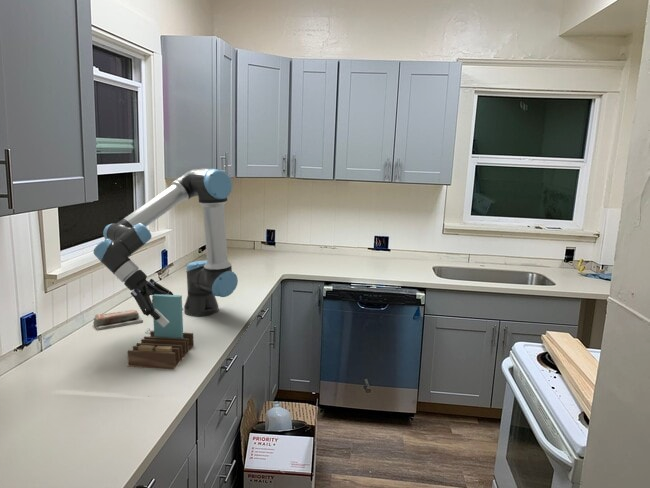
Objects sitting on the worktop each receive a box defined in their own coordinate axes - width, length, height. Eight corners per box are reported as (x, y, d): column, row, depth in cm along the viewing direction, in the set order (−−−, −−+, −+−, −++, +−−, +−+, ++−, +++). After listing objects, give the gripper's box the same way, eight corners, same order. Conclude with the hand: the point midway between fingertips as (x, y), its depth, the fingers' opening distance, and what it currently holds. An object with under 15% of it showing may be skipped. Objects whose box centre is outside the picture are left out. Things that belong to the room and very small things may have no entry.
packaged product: (96, 320, 190) (92, 313, 198) (97, 331, 191) (93, 324, 199) (143, 312, 200) (137, 306, 208) (143, 323, 201) (138, 316, 209)
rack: (151, 346, 177) (151, 331, 176) (193, 348, 176) (193, 333, 174) (126, 369, 158) (125, 352, 157) (173, 372, 157) (172, 355, 156)
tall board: (157, 346, 174) (154, 294, 171) (183, 347, 174) (181, 295, 170) (154, 348, 172) (152, 295, 169) (181, 349, 172) (179, 296, 168)
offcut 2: (158, 362, 161) (157, 345, 160) (172, 363, 161) (172, 346, 160) (155, 364, 159) (155, 348, 158) (170, 365, 159) (169, 348, 158)
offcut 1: (141, 361, 162) (140, 344, 161) (155, 362, 162) (154, 345, 160) (138, 363, 160) (137, 347, 159) (153, 364, 160) (152, 348, 158)
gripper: (140, 274, 182) (180, 313, 184) (106, 293, 157) (152, 337, 159) (153, 261, 180) (193, 300, 182) (120, 278, 156) (167, 323, 158)
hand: (174, 318), depth 171 cm, fingers open, 13 cm apart
